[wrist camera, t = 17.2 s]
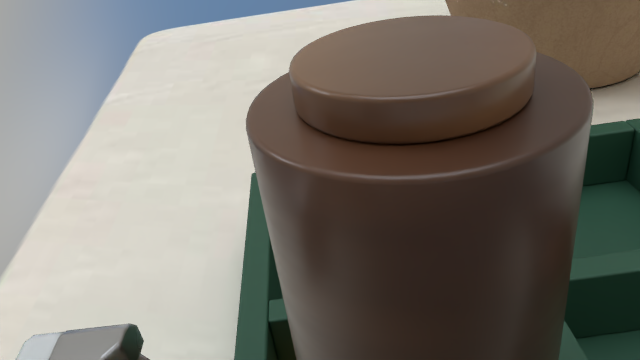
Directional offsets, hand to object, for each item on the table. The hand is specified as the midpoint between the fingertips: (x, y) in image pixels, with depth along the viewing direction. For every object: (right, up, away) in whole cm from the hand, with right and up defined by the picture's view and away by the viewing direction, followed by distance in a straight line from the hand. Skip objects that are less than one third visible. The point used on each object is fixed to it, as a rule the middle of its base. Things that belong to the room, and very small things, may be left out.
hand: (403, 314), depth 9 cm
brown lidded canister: (+1, -4, +4) cm, 6 cm away
